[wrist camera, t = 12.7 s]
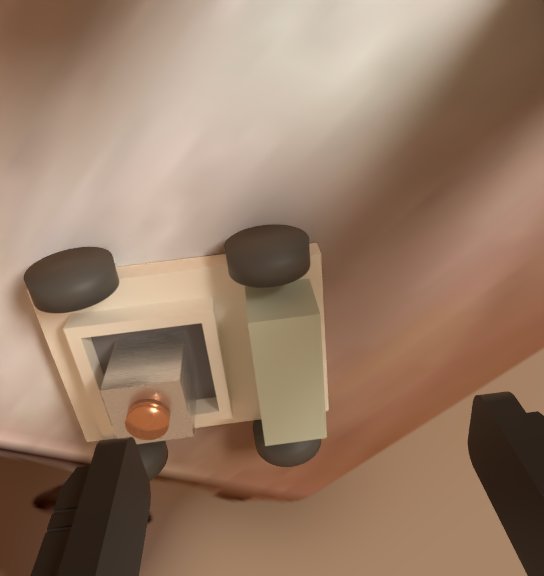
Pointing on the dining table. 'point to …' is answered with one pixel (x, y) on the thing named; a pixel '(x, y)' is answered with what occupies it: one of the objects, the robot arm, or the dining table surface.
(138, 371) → the cube with copper knob
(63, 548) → the robot arm
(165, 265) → the chassis
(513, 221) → the dining table surface
